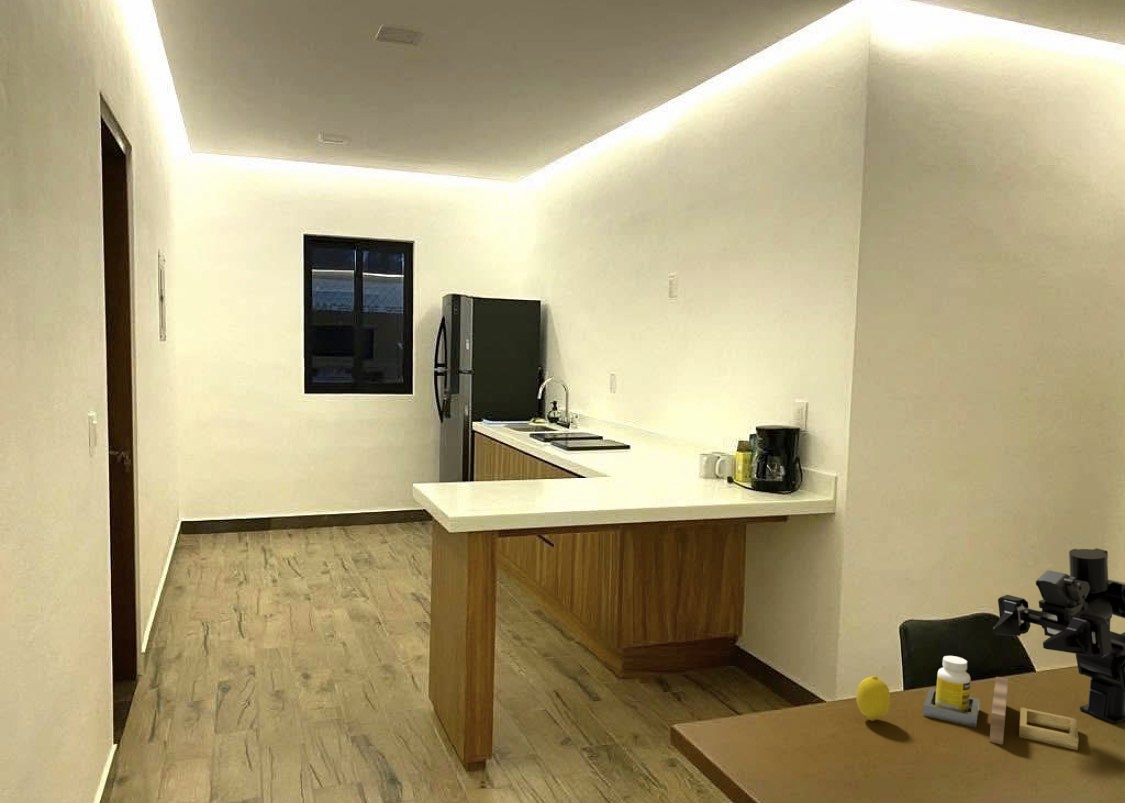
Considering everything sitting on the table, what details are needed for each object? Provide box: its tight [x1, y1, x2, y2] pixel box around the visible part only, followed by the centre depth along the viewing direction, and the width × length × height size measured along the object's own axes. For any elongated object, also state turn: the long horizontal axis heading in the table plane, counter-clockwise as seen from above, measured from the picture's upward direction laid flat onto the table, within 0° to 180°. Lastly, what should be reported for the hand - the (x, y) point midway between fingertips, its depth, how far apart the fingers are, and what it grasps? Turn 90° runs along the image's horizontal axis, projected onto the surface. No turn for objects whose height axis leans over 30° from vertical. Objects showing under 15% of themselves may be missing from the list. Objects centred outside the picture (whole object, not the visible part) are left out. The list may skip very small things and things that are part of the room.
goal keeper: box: [1018, 707, 1079, 751], centre depth 145 cm, size 8×8×2 cm
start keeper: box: [922, 688, 981, 728], centre depth 152 cm, size 8×8×2 cm
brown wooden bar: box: [989, 676, 1009, 746], centre depth 149 cm, size 18×2×5 cm, turn 151°
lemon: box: [855, 675, 891, 722], centre depth 148 cm, size 6×6×8 cm
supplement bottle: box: [934, 655, 971, 712], centre depth 152 cm, size 5×5×10 cm
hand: (1018, 638), depth 142 cm, fingers open, 9 cm apart
